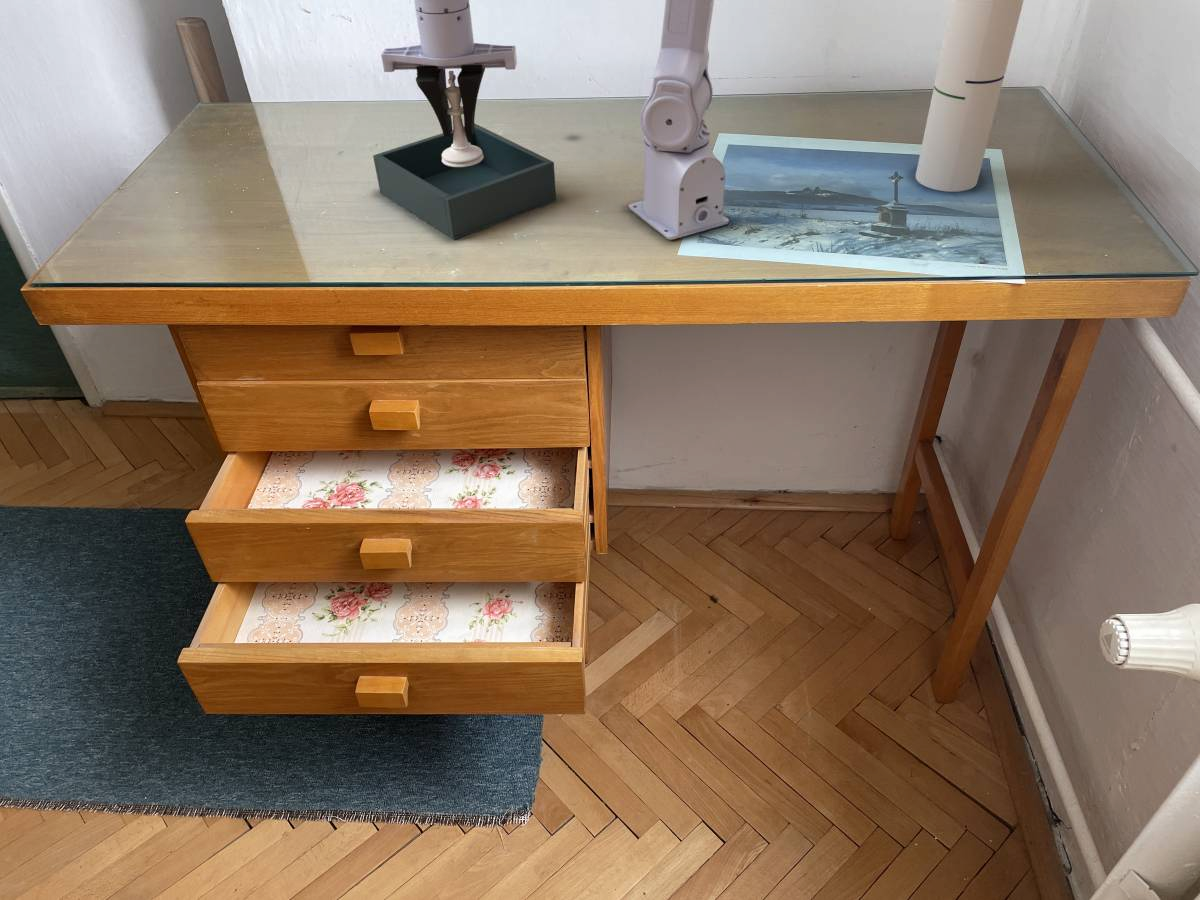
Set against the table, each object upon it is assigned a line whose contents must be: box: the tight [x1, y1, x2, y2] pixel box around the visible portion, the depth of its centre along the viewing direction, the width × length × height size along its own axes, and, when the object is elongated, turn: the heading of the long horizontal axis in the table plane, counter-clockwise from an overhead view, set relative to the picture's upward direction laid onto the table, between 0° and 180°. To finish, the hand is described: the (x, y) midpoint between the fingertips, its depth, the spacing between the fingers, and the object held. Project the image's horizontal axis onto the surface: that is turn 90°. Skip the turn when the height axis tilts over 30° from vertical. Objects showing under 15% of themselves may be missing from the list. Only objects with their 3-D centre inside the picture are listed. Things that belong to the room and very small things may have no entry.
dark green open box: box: [372, 122, 557, 241], centre depth 109 cm, size 17×15×5 cm
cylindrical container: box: [915, 0, 1025, 193], centre depth 103 cm, size 7×7×25 cm
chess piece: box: [442, 70, 484, 167], centre depth 104 cm, size 5×5×10 cm
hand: (459, 132), depth 106 cm, fingers closed on chess piece
